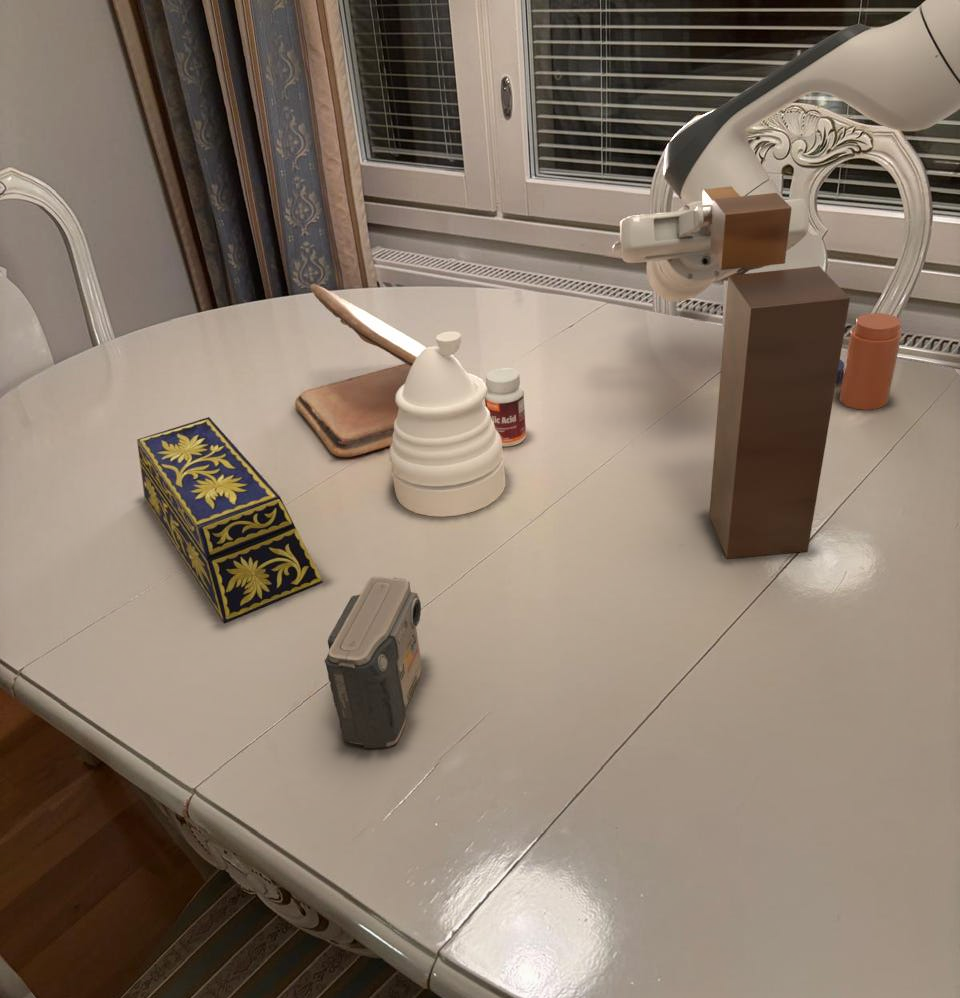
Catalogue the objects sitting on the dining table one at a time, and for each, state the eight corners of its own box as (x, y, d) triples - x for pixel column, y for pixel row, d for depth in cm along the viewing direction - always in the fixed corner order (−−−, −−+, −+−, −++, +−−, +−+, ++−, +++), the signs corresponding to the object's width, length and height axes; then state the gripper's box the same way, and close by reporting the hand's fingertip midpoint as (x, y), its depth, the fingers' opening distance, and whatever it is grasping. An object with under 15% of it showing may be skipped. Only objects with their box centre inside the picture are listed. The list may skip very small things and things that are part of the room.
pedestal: (708, 515, 97) (728, 275, 81) (785, 508, 96) (819, 265, 80) (726, 559, 90) (751, 307, 74) (808, 551, 90) (850, 297, 74)
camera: (395, 756, 74) (374, 664, 68) (330, 746, 76) (304, 655, 69) (437, 663, 82) (423, 573, 76) (378, 656, 84) (359, 568, 78)
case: (490, 419, 118) (479, 294, 108) (338, 465, 112) (310, 338, 102) (429, 366, 133) (414, 252, 123) (291, 404, 127) (263, 288, 117)
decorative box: (224, 623, 90) (198, 547, 84) (144, 498, 111) (119, 431, 105) (324, 582, 94) (305, 507, 88) (229, 469, 114) (208, 403, 109)
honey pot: (520, 464, 109) (509, 314, 97) (483, 522, 100) (467, 365, 88) (421, 454, 113) (399, 309, 101) (377, 509, 104) (348, 357, 92)
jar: (896, 397, 113) (913, 317, 106) (872, 414, 110) (888, 333, 104) (854, 385, 116) (868, 308, 110) (830, 401, 113) (843, 323, 107)
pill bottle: (484, 447, 113) (478, 382, 107) (493, 428, 116) (487, 365, 111) (522, 448, 112) (517, 383, 106) (529, 429, 115) (526, 366, 110)
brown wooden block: (687, 220, 99) (689, 170, 95) (743, 214, 98) (747, 163, 95) (721, 270, 86) (725, 214, 83) (785, 263, 86) (791, 207, 83)
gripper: (608, 225, 107) (623, 189, 93) (784, 206, 106) (825, 167, 93) (611, 281, 108) (627, 254, 94) (786, 264, 107) (827, 233, 94)
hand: (727, 211), depth 94 cm, fingers closed on brown wooden block, 3 cm apart
